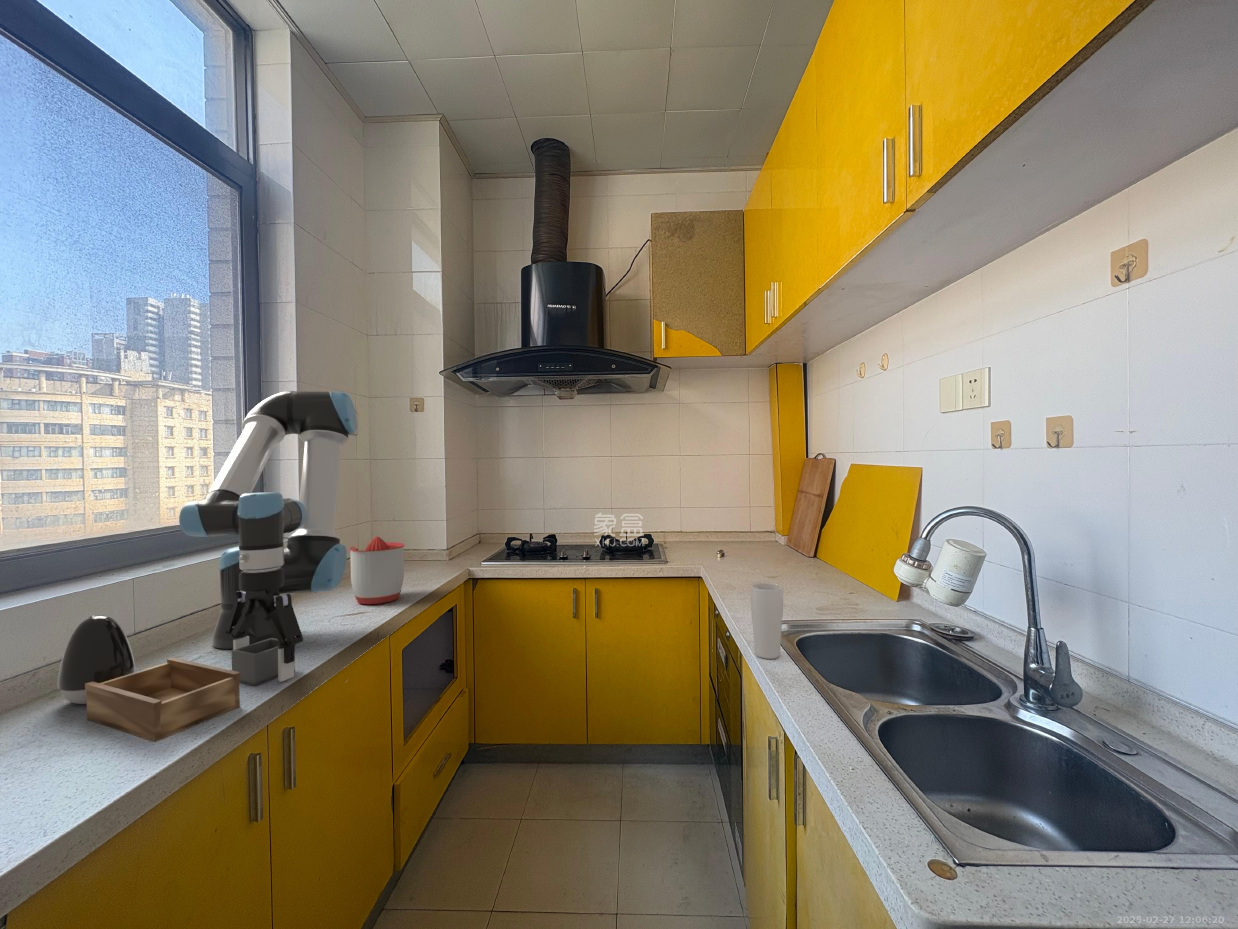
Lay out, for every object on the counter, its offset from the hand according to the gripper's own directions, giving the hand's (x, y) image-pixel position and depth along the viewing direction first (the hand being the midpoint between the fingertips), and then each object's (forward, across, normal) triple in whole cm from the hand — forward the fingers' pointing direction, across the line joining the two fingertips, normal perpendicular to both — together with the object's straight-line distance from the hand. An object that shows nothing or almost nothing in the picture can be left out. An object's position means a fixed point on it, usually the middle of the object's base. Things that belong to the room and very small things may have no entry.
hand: (263, 674), depth 107 cm
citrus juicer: (0, -26, +52) cm, 58 cm away
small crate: (0, 0, 0) cm, 0 cm away
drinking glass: (+1, +93, +47) cm, 104 cm away
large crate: (0, 0, -17) cm, 17 cm away
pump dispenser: (+1, -19, -18) cm, 26 cm away
